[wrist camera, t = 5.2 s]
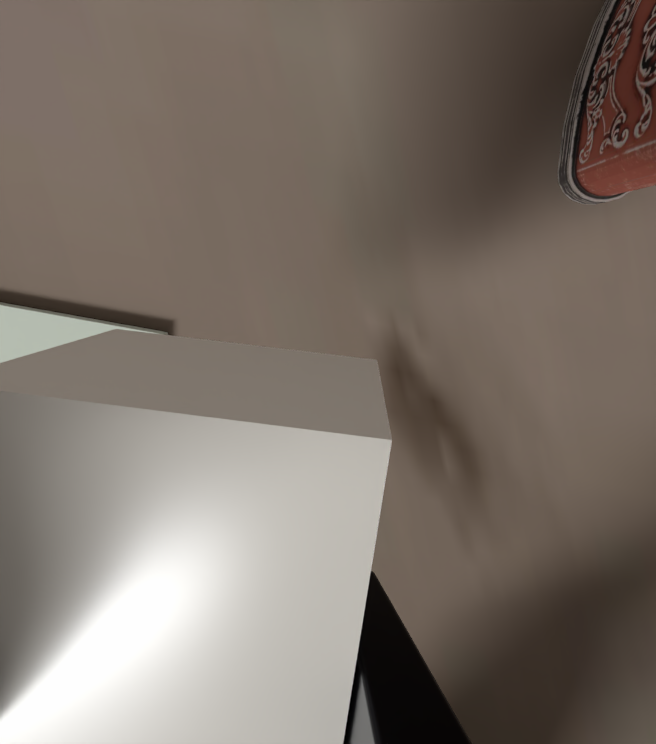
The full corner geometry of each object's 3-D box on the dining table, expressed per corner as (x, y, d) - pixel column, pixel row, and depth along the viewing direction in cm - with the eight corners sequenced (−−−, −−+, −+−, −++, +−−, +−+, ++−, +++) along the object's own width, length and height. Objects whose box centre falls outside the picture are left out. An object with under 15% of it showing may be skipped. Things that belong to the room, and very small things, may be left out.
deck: (377, 360, 8) (394, 441, 4) (332, 682, 10) (318, 906, 6) (115, 328, 8) (-69, 383, 4) (128, 652, 10) (10, 853, 7)
